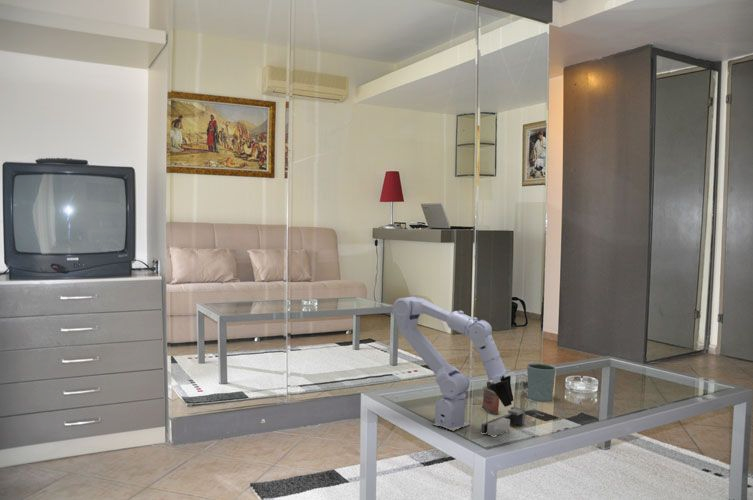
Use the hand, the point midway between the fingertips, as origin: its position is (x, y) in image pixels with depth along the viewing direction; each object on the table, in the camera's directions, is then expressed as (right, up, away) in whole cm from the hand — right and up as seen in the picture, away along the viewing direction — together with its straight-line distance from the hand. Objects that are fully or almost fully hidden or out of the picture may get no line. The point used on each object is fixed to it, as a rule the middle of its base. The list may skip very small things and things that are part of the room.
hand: (509, 403), depth 179 cm
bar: (-2, -10, +4) cm, 11 cm away
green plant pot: (+21, -10, +45) cm, 51 cm away
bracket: (0, -10, +8) cm, 12 cm away
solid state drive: (+15, -11, +24) cm, 31 cm away
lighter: (-1, -9, +26) cm, 27 cm away
